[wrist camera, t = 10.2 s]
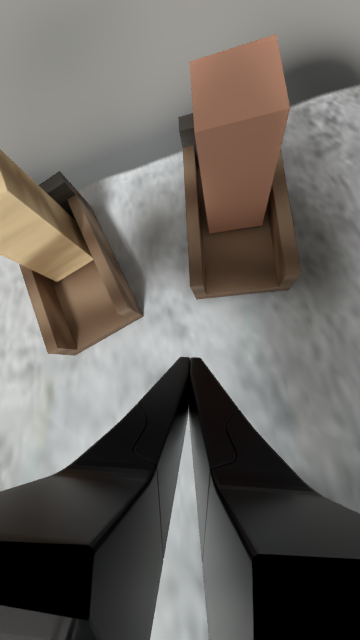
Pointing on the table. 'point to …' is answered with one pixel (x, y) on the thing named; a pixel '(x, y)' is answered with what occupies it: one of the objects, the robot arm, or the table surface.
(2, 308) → the table surface
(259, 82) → the terracotta slider
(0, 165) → the oak slider
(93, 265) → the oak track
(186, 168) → the dark wooden block holder
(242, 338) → the table surface
